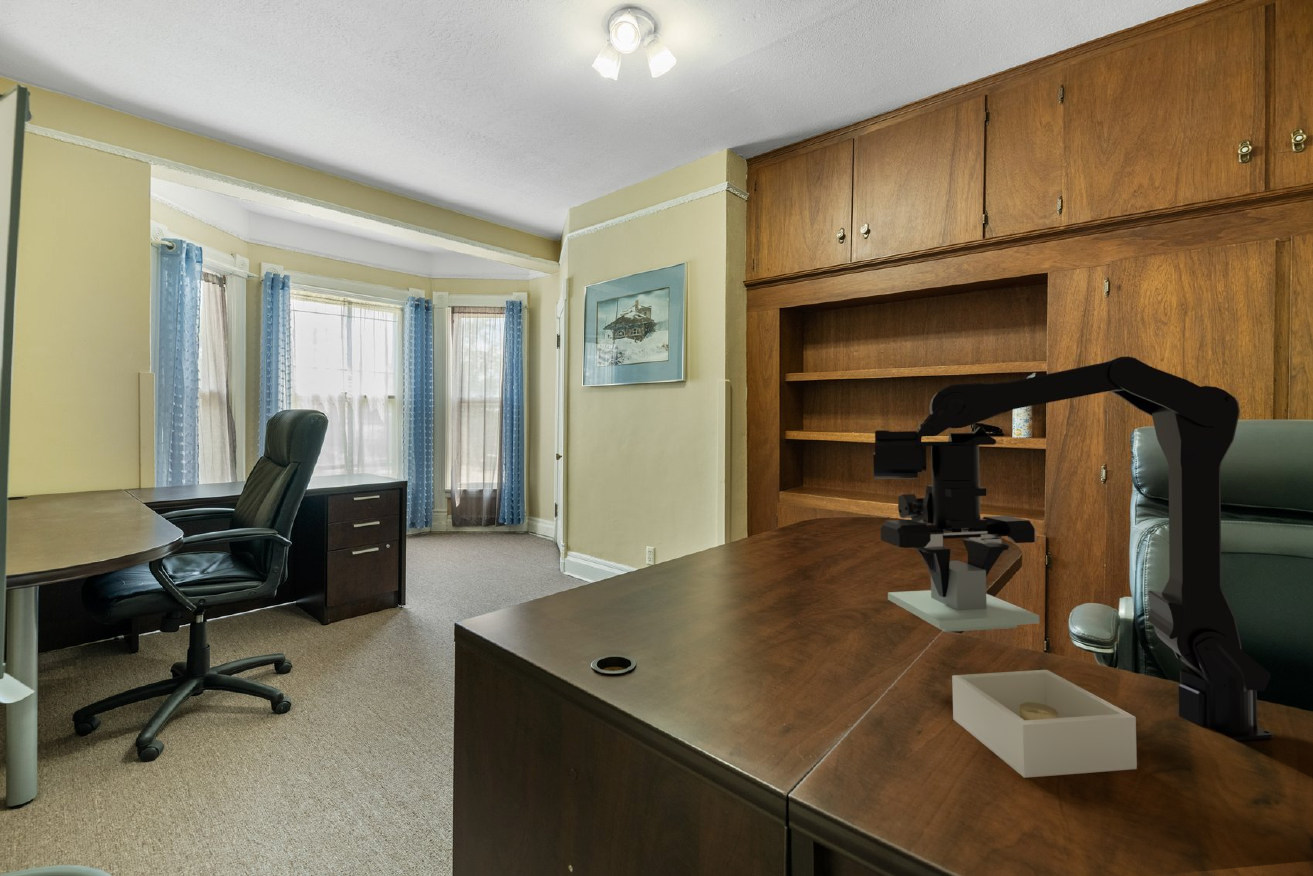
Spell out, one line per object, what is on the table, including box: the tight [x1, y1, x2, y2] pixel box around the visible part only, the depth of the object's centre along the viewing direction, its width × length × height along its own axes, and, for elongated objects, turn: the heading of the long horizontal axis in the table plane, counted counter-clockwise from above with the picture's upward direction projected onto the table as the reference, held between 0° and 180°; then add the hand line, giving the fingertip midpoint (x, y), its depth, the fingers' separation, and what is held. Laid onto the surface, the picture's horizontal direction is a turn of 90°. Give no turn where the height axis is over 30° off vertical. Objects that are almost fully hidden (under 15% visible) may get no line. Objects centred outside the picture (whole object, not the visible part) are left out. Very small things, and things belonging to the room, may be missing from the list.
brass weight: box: [1020, 702, 1058, 720], centre depth 66 cm, size 4×4×3 cm
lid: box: [887, 559, 1040, 633], centre depth 78 cm, size 13×13×7 cm
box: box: [951, 669, 1138, 779], centre depth 64 cm, size 12×12×6 cm
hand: (957, 595), depth 78 cm, fingers closed on lid, 4 cm apart
